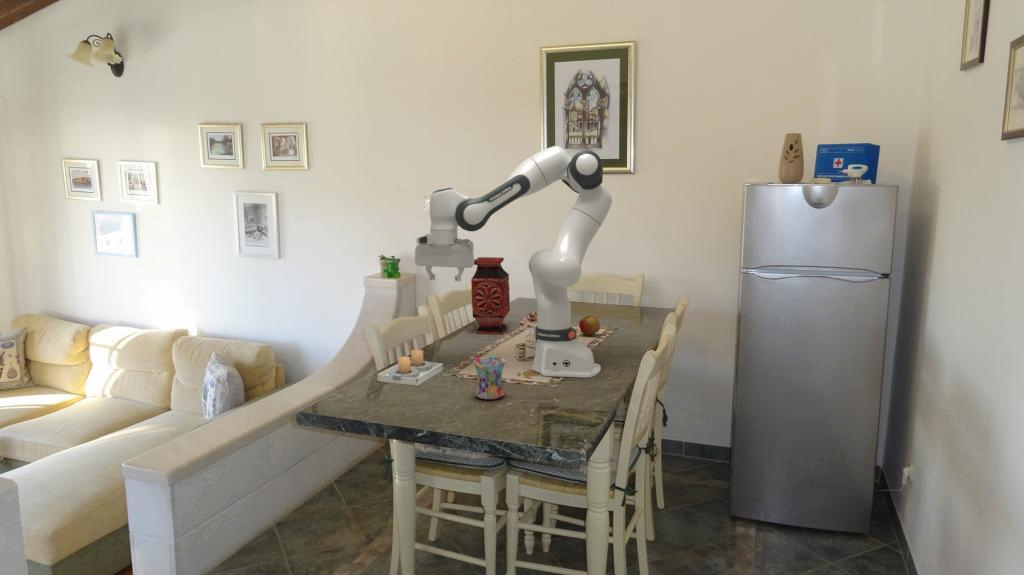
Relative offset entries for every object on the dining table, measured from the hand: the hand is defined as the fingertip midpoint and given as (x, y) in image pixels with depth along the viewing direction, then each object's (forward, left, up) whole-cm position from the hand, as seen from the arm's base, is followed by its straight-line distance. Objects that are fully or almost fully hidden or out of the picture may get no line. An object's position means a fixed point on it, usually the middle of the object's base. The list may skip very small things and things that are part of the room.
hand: (444, 280), depth 223 cm
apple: (-35, -58, -29) cm, 74 cm away
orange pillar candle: (+6, +18, -28) cm, 34 cm away
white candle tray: (+6, +14, -29) cm, 33 cm away
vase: (+5, -53, -29) cm, 61 cm away
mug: (-26, +24, -29) cm, 46 cm away
